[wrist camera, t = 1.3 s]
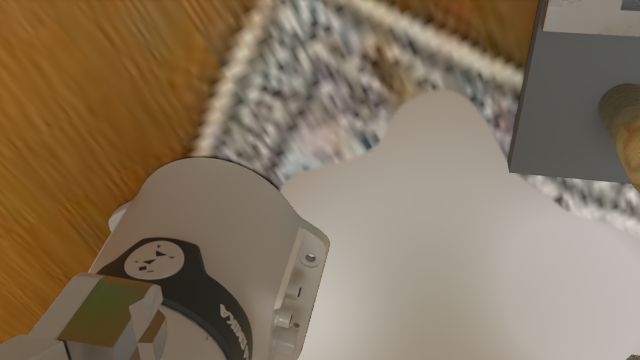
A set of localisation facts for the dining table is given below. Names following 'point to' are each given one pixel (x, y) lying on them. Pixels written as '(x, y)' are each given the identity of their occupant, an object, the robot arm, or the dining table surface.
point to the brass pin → (624, 126)
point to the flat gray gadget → (592, 17)
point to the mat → (570, 103)
